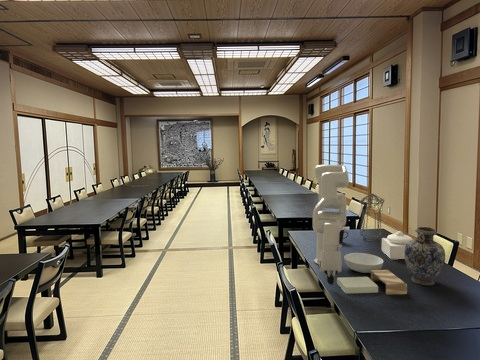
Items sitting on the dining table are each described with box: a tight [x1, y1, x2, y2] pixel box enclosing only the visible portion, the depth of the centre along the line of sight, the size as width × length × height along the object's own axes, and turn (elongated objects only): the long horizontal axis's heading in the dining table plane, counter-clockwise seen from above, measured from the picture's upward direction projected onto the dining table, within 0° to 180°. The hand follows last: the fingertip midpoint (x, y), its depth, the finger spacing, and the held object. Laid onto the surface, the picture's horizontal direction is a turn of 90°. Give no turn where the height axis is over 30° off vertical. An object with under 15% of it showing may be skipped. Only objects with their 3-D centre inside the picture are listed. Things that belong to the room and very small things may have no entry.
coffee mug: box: [339, 227, 349, 244], centre depth 247 cm, size 12×9×10 cm
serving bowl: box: [343, 252, 384, 274], centre depth 193 cm, size 21×21×7 cm
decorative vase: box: [404, 226, 446, 287], centre depth 176 cm, size 21×19×28 cm
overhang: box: [370, 269, 408, 296], centre depth 171 cm, size 17×10×5 cm, turn 3°
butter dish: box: [380, 230, 413, 260], centre depth 218 cm, size 18×18×16 cm
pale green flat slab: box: [336, 276, 379, 294], centre depth 170 cm, size 12×16×3 cm
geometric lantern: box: [358, 193, 385, 242], centre depth 252 cm, size 16×16×35 cm
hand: (330, 283), depth 169 cm, fingers closed
